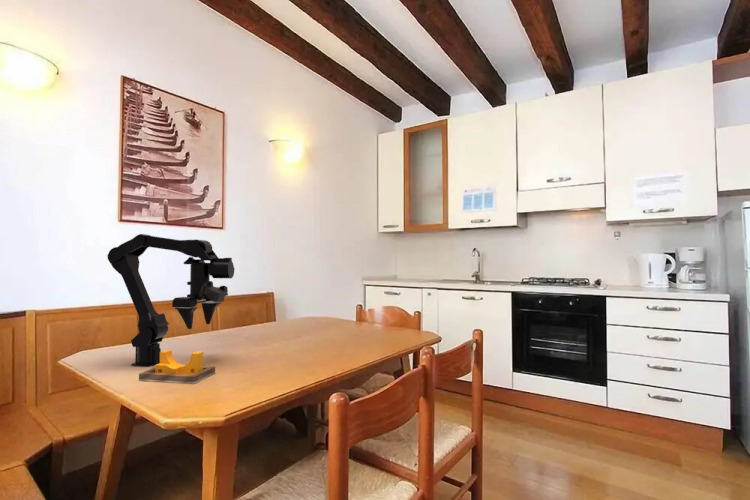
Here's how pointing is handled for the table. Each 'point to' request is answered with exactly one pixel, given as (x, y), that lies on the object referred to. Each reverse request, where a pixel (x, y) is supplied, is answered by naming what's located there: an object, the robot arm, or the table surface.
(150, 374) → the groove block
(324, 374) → the table surface
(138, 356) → the robot arm
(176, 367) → the pipe clamp
